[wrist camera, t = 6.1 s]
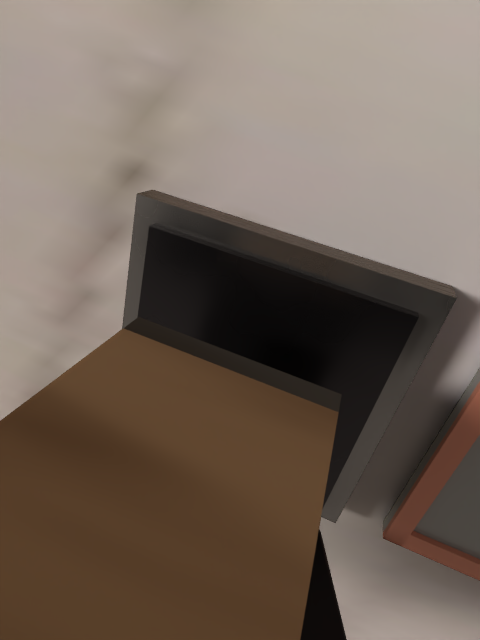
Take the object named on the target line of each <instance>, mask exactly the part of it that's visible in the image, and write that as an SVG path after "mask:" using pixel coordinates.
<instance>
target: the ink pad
mask: <svg viewBox="0 0 480 640" xmlns="http://www.w3.org/2000/svg"><path fill="white" fill-rule="evenodd" d="M456 299H457V297H456V295H455V292H454V290H453V288H452V286H450V285H447V284H444V283H440V282H437V281H434V280H431V279H428V278H425V277H422V276H419V275H416V274H412V273H409V272H406V271H403V270H400V269H397V268H394V267H391V266H388V265H385V264H381V263H378V262H375V261H372V260H369V259H366V258H363V257H360V256H357V255H353V254H350V253H347V252H344V251H341V250H338V249H335V248H332V247H329V246H326V245H322V244H319V243H316V242H313V241H310V240H307V239H304V238H301V237H298V236H294V235H291V234H288V233H285V232H282V231H279V230H276V229H273V228H270V227H267V226H263V225H260V224H257V223H254V222H251V221H248V220H245V219H242V218H239V217H235V216H232V215H229V214H226V213H223V212H220V211H217V210H214V209H211V208H208V207H204V206H201V205H198V204H195V203H192V202H189V201H186V200H183V199H180V198H176V197H173V196H170V195H167V194H164V193H161V192H158V191H155V190H149V191H145V192H141V193H138V194H137V197H136V206H135V215H134V224H133V234H132V243H131V252H130V261H129V271H128V280H127V289H126V298H125V307H124V317H123V326H122V329H123V328H124V327H126V326H127V325H128V324H130V323H131V322H132V321H134V320H135V319H136V318H138V317H141V318H143V319H146V320H148V321H151V322H154V323H156V324H159V325H162V326H164V327H167V328H169V329H172V330H175V331H177V332H180V333H182V334H185V335H188V336H190V337H193V338H196V339H198V340H201V341H203V342H206V343H209V344H211V345H214V346H216V347H219V348H222V349H224V350H227V351H230V352H232V353H235V354H237V355H240V356H243V357H245V358H248V359H250V360H253V361H256V362H258V363H261V364H264V365H266V366H269V367H271V368H274V369H277V370H279V371H282V372H284V373H287V374H290V375H292V376H295V377H298V378H300V379H303V380H305V381H308V382H311V383H313V384H316V385H318V386H321V387H324V388H326V389H329V390H332V391H334V392H337V393H339V394H342V395H341V401H340V407H339V413H338V419H337V425H336V431H335V437H334V443H333V449H332V455H331V460H330V466H329V472H328V478H327V484H326V490H325V496H324V502H323V508H322V514H321V517H323V518H325V519H327V520H330V521H332V522H334V523H336V521H337V519H338V517H339V516H340V514H341V512H342V510H343V508H344V506H345V504H346V503H347V501H348V499H349V497H350V495H351V493H352V491H353V490H354V488H355V486H356V484H357V482H358V480H359V478H360V477H361V475H362V473H363V471H364V469H365V467H366V466H367V464H368V462H369V460H370V458H371V456H372V454H373V453H374V451H375V449H376V447H377V445H378V443H379V441H380V440H381V438H382V436H383V434H384V432H385V430H386V428H387V427H388V425H389V423H390V421H391V419H392V417H393V415H394V414H395V412H396V410H397V408H398V406H399V404H400V403H401V401H402V399H403V397H404V395H405V393H406V391H407V390H408V388H409V386H410V384H411V382H412V380H413V378H414V377H415V375H416V373H417V371H418V369H419V367H420V365H421V364H422V362H423V360H424V358H425V356H426V354H427V353H428V351H429V349H430V347H431V345H432V343H433V341H434V340H435V338H436V336H437V334H438V332H439V330H440V328H441V327H442V325H443V323H444V321H445V319H446V317H447V315H448V314H449V312H450V310H451V308H452V306H453V304H454V302H455V301H456Z"/></svg>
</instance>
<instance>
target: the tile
mask: <svg viewBox="0 0 480 640" xmlns="http://www.w3.org/2000/svg"><path fill="white" fill-rule="evenodd" d="M383 539H386V540H388V541H390V542H393V543H395V544H397V545H399V546H402V547H404V548H406V549H409V550H411V551H413V552H415V553H418V554H420V555H422V556H425V557H427V558H429V559H431V560H434V561H436V562H438V563H441V564H443V565H445V566H447V567H450V568H452V569H454V570H457V571H459V572H461V573H463V574H466V575H468V576H470V577H473V578H475V579H477V580H479V581H480V368H479V370H478V371H477V373H476V375H475V376H474V378H473V379H472V381H471V383H470V384H469V386H468V387H467V389H466V391H465V392H464V394H463V395H462V397H461V399H460V400H459V402H458V403H457V405H456V407H455V408H454V410H453V411H452V413H451V415H450V416H449V418H448V419H447V421H446V423H445V424H444V426H443V427H442V429H441V431H440V432H439V434H438V435H437V437H436V439H435V440H434V442H433V443H432V445H431V446H430V448H429V450H428V451H427V453H426V454H425V456H424V458H423V459H422V461H421V462H420V464H419V466H418V467H417V469H416V470H415V472H414V474H413V475H412V477H411V478H410V480H409V482H408V483H407V485H406V486H405V488H404V490H403V491H402V493H401V494H400V496H399V498H398V499H397V501H396V502H395V504H394V506H393V507H392V509H391V510H390V512H389V514H388V515H387V517H386V518H385V520H384V522H383Z"/></svg>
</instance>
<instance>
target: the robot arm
mask: <svg viewBox="0 0 480 640" xmlns="http://www.w3.org/2000/svg"><path fill="white" fill-rule="evenodd" d="M300 640H347V639H346V635H345V631H344V627H343V623H342V619H341V615H340V610H339V606H338V602H337V598H336V594H335V590H334V586H333V581H332V577H331V573H330V569H329V565H328V561H327V556H326V552H325V548H324V544H323V540H322V536H321V532H320V530H319V531H318V537H317V543H316V549H315V555H314V561H313V567H312V573H311V579H310V585H309V591H308V596H307V602H306V608H305V614H304V620H303V626H302V632H301V638H300Z"/></svg>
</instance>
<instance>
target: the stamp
mask: <svg viewBox="0 0 480 640" xmlns="http://www.w3.org/2000/svg"><path fill="white" fill-rule="evenodd" d="M341 395H342V394H339V393H337V392H334V391H332V390H329V389H326V388H324V387H321V386H318V385H316V384H313V383H311V382H308V381H305V380H303V379H300V378H298V377H295V376H292V375H290V374H287V373H284V372H282V371H279V370H277V369H274V368H271V367H269V366H266V365H264V364H261V363H258V362H256V361H253V360H250V359H248V358H245V357H243V356H240V355H237V354H235V353H232V352H230V351H227V350H224V349H222V348H219V347H216V346H214V345H211V344H209V343H206V342H203V341H201V340H198V339H196V338H193V337H190V336H188V335H185V334H182V333H180V332H177V331H175V330H172V329H169V328H167V327H164V326H162V325H159V324H156V323H154V322H151V321H148V320H146V319H143V318H141V317H138V318H136V319H135V320H134V321H132V322H131V323H130V324H128V325H127V326H126V327H124V328H123V329H122V330H120V331H119V332H118V333H116V334H115V335H114V336H112V337H111V338H110V339H108V340H107V341H106V342H104V343H103V344H102V345H101V346H99V347H98V348H97V349H95V350H94V351H93V352H91V353H90V354H89V355H87V356H86V357H85V358H83V359H82V360H81V361H79V362H78V363H77V364H75V365H74V366H73V367H71V368H70V369H69V370H67V371H66V372H65V373H63V374H62V375H61V376H59V377H58V378H57V379H55V380H54V381H53V382H51V383H50V384H49V385H47V386H46V387H45V388H43V389H42V390H41V391H39V392H38V393H37V394H35V395H34V396H33V397H31V398H30V399H29V400H27V401H26V402H25V403H23V404H22V405H21V406H19V407H18V408H17V409H15V410H14V411H13V412H11V413H10V414H9V415H7V416H6V417H5V418H3V419H2V420H1V421H0V640H300V638H301V632H302V626H303V620H304V614H305V608H306V602H307V596H308V591H309V585H310V579H311V573H312V567H313V561H314V555H315V549H316V543H317V537H318V531H319V525H320V520H321V514H322V508H323V502H324V496H325V490H326V484H327V478H328V472H329V466H330V460H331V455H332V449H333V443H334V437H335V431H336V425H337V419H338V413H339V407H340V401H341Z"/></svg>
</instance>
